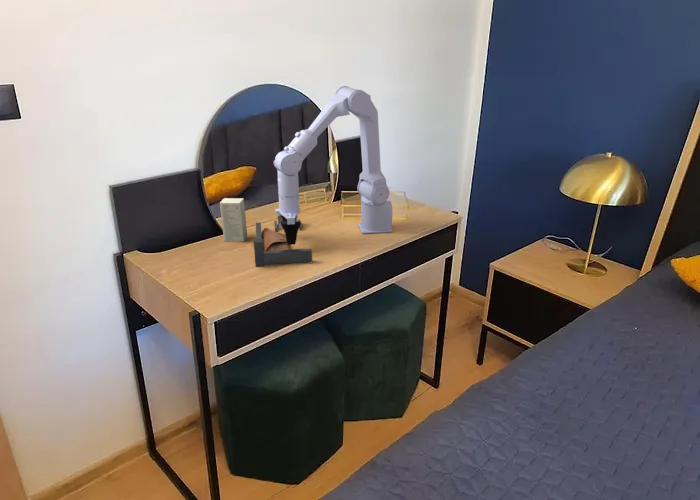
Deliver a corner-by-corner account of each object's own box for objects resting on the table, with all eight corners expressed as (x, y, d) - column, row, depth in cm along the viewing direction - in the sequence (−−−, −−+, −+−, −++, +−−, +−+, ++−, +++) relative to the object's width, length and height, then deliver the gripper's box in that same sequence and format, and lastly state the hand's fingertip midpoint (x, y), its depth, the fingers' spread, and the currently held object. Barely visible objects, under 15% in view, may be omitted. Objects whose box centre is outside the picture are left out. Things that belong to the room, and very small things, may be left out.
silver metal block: (297, 224, 180) (296, 208, 178) (297, 227, 177) (297, 211, 175) (278, 225, 179) (277, 209, 177) (278, 228, 177) (277, 212, 174)
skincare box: (247, 236, 171) (244, 198, 166) (243, 242, 167) (240, 202, 162) (227, 235, 172) (223, 197, 167) (222, 241, 168) (219, 202, 163)
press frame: (303, 222, 182) (302, 202, 179) (312, 263, 154) (311, 239, 151) (254, 225, 180) (253, 204, 177) (255, 266, 151) (253, 242, 149)
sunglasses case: (294, 259, 156) (280, 241, 153) (273, 273, 156) (259, 254, 153) (289, 235, 172) (277, 218, 169) (270, 247, 173) (257, 230, 170)
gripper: (273, 187, 166) (275, 230, 171) (275, 203, 153) (278, 249, 158) (297, 186, 167) (299, 229, 172) (301, 202, 154) (303, 248, 159)
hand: (290, 239), depth 165 cm, fingers open, 7 cm apart
